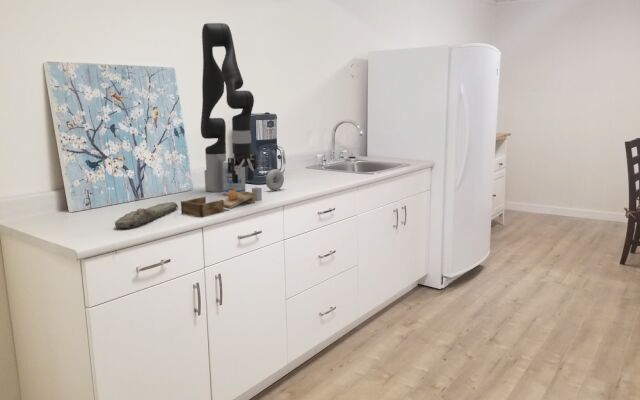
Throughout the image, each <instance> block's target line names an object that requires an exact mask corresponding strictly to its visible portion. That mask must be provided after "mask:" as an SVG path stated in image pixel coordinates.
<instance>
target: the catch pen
mask: <svg viewBox="0 0 640 400" xmlns="http://www.w3.org/2000/svg"><path fill="white" fill-rule="evenodd" d="M224 200H225V199H219V200H215V201H209V202H206V196H201V197H197V198H191V199H187V200H182V201H181V200H180V208H181V214H183V215H188V216H192V217H193V216H194V217H199V218H204V217H208V216H211V215H212V216H213V215H216V214H219V213H225V211H224V209H225V207H224Z"/></svg>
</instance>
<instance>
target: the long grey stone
mask: <svg viewBox="0 0 640 400" xmlns="http://www.w3.org/2000/svg"><path fill="white" fill-rule="evenodd" d="M178 208H179V207H178V204H177V203H176V202H174V201H170V202H164V203H163V202H162V203H158V204H156V205H153V206H150V207H147V208H144V207H143V208H141V207H140V208H137V209H136V210H133V211H130V212H129V213H126V214H124V215H123V216H122V217H119V218H118V219H117V220H115V221H114V226H115V228H116V229H131V228H135V227H141V226H143V224H144V225H145V224H146V223H147V224H150V223H151V222H153V221H155V220H157V219H158V218H159V217H164V216H165V215H167V214H170V213H172V212H174V211H176V210H177V209H178ZM140 225H141V226H140Z"/></svg>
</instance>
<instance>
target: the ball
mask: <svg viewBox="0 0 640 400" xmlns="http://www.w3.org/2000/svg"><path fill="white" fill-rule="evenodd" d="M226 196H227V198H229V199H231V200H234V199H236V198H237V196H238V194H237V192H236V191H235V190H230V191H229V192H228V194H227V195H226Z"/></svg>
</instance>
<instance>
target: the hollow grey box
mask: <svg viewBox="0 0 640 400" xmlns="http://www.w3.org/2000/svg"><path fill="white" fill-rule="evenodd" d="M251 193H254V195H255V202H257V201H261V200H262V199H263V197H262V196H263V194H262V187H256V186H255V187H252V188H251Z"/></svg>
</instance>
